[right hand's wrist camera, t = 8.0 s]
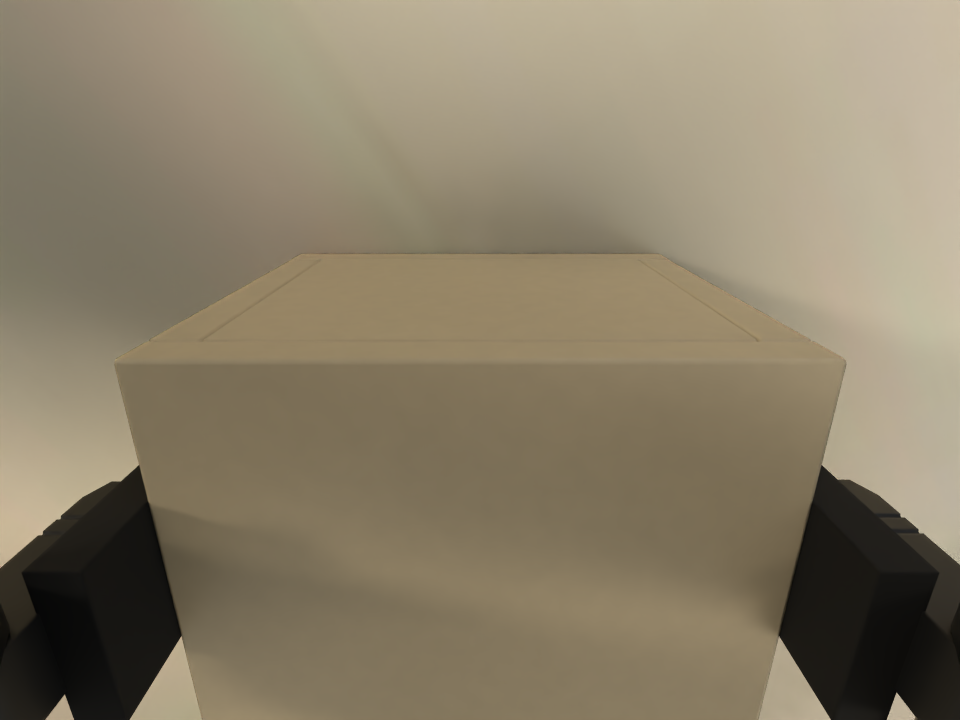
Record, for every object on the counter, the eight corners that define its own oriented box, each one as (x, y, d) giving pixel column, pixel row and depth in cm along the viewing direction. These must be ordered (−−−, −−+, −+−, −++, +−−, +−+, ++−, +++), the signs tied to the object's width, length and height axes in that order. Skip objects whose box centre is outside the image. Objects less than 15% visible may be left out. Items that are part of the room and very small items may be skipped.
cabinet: (605, 736, 23) (675, 1061, 14) (354, 736, 23) (285, 1061, 14) (659, 253, 16) (850, 359, 8) (299, 253, 16) (109, 359, 8)
